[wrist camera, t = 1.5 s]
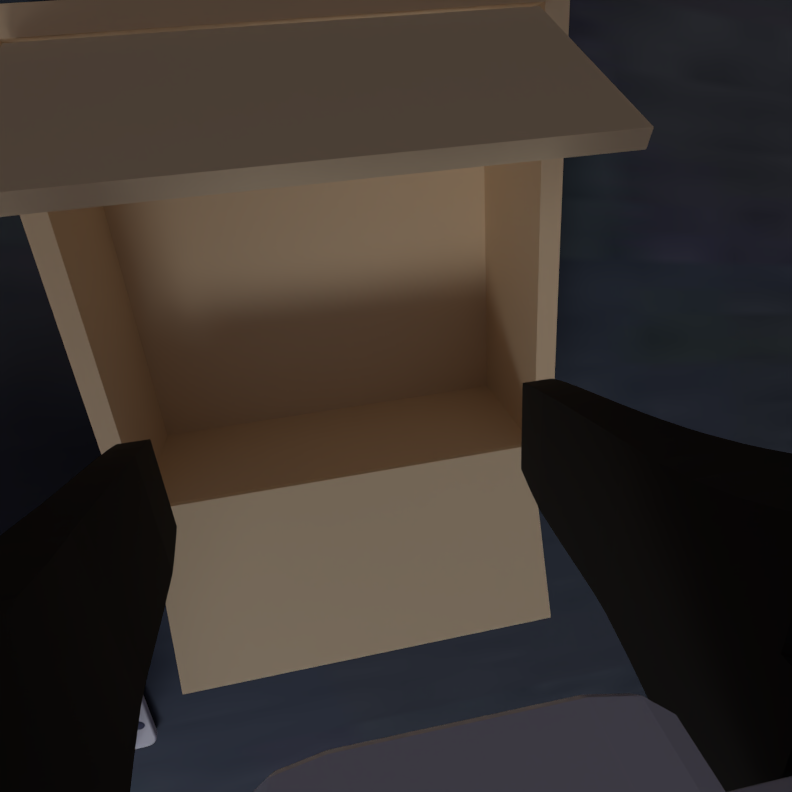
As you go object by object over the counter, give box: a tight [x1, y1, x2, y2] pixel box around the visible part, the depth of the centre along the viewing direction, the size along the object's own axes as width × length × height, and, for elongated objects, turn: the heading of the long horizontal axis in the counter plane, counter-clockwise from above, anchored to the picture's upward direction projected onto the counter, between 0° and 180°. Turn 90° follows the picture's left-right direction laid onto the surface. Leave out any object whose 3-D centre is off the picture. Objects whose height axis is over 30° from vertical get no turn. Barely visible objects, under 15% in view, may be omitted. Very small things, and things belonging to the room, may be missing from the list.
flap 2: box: [166, 444, 551, 694], centre depth 19 cm, size 6×11×1 cm, turn 94°
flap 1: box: [0, 6, 654, 217], centre depth 11 cm, size 6×11×1 cm
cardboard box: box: [0, 0, 570, 503], centre depth 18 cm, size 13×13×5 cm
